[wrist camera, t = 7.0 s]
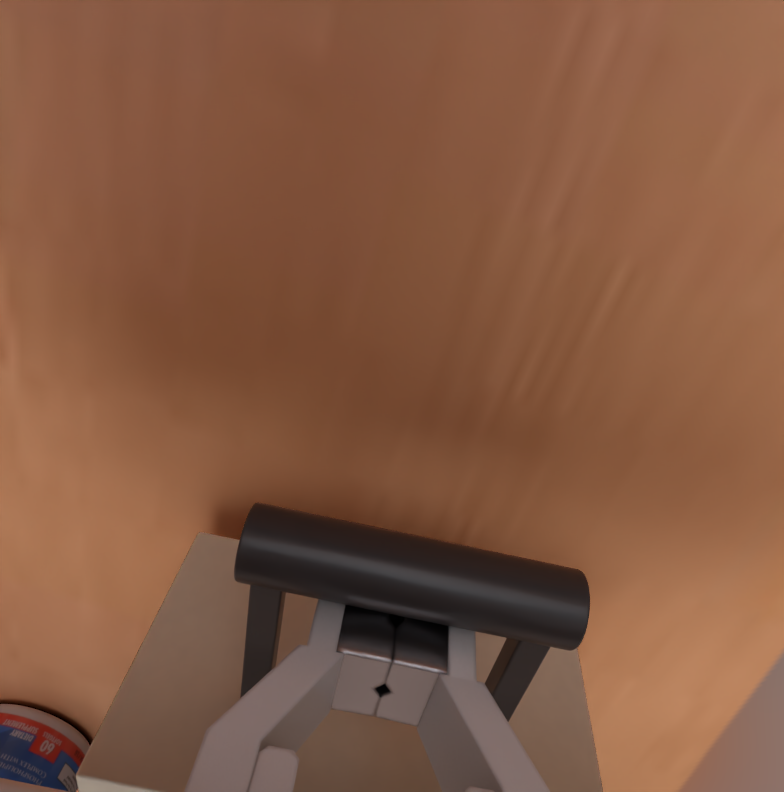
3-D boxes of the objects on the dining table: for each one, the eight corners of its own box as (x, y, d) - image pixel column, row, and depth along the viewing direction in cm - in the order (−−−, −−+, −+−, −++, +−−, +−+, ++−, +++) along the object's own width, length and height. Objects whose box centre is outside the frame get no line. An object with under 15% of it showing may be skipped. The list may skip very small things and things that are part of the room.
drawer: (200, 354, 14) (29, 579, 8) (657, 452, 14) (782, 734, 9) (195, 756, 24) (117, 973, 19) (458, 809, 25) (457, 1039, 19)
